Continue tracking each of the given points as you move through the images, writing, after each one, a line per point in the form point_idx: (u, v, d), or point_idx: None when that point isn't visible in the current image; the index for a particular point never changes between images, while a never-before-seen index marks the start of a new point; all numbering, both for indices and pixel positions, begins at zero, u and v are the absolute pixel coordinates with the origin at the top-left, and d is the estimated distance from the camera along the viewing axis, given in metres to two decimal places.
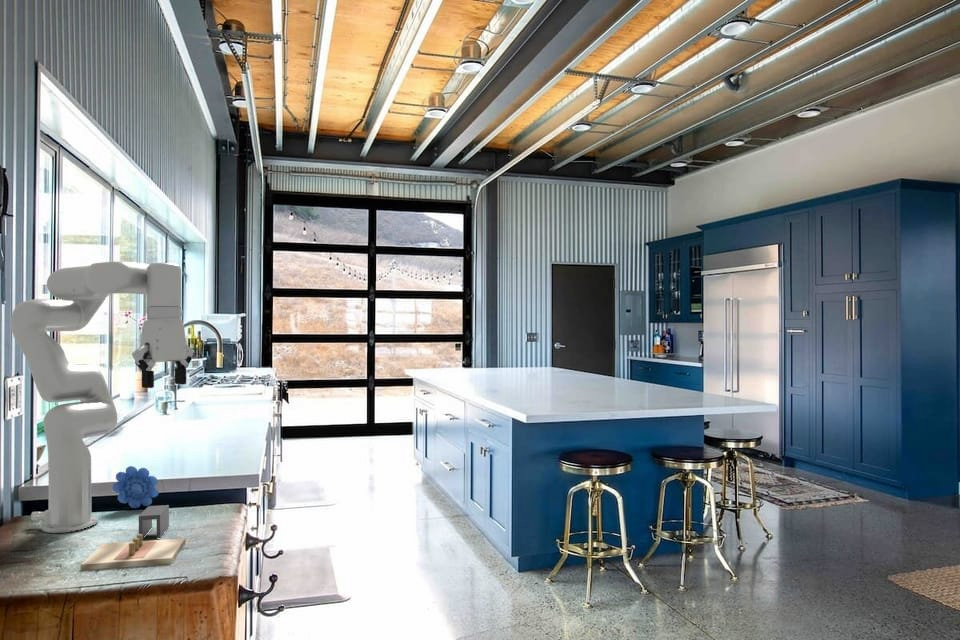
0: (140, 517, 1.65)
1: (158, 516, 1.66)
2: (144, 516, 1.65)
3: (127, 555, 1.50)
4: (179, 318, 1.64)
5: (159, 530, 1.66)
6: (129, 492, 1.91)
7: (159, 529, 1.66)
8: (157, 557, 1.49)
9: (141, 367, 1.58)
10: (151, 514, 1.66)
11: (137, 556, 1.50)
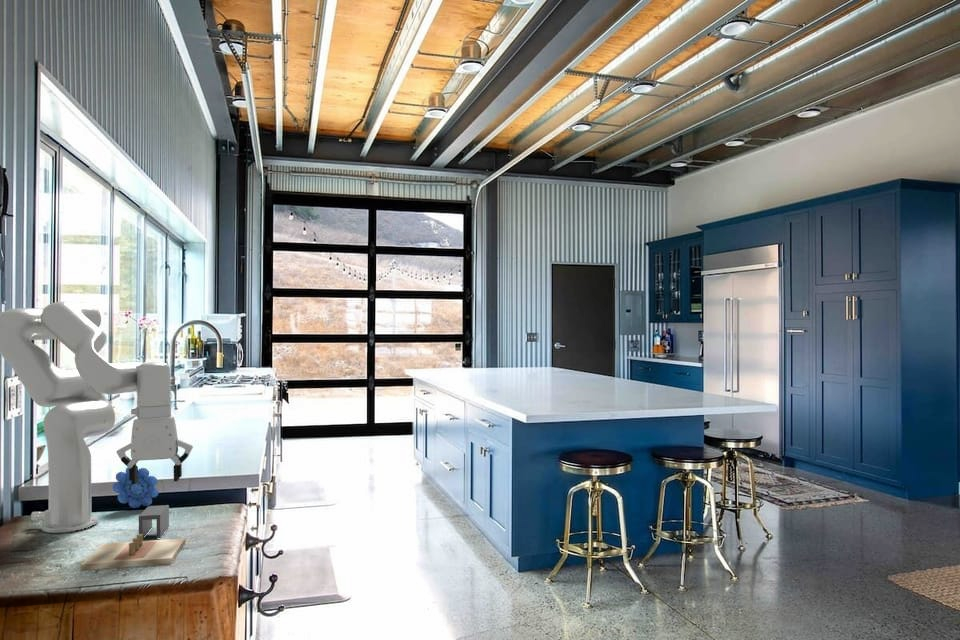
0: (140, 517, 1.65)
1: (158, 516, 1.66)
2: (144, 516, 1.65)
3: (127, 555, 1.50)
4: None
5: (159, 530, 1.66)
6: (129, 492, 1.91)
7: (159, 529, 1.66)
8: (157, 557, 1.49)
9: None
10: (151, 514, 1.66)
11: (137, 556, 1.50)
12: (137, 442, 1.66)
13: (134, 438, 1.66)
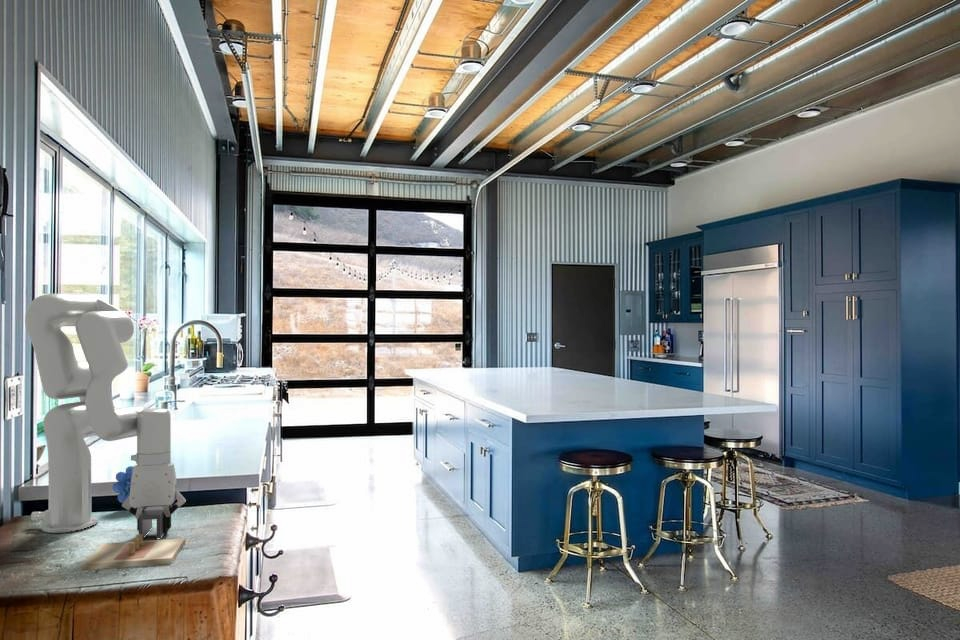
0: (140, 517, 1.65)
1: (158, 516, 1.66)
2: (144, 516, 1.65)
3: (127, 555, 1.50)
4: None
5: (159, 530, 1.66)
6: (129, 492, 1.91)
7: (159, 529, 1.66)
8: (157, 557, 1.49)
9: (173, 511, 1.71)
10: (151, 514, 1.66)
11: (137, 556, 1.50)
12: (136, 489, 1.66)
13: (133, 485, 1.66)
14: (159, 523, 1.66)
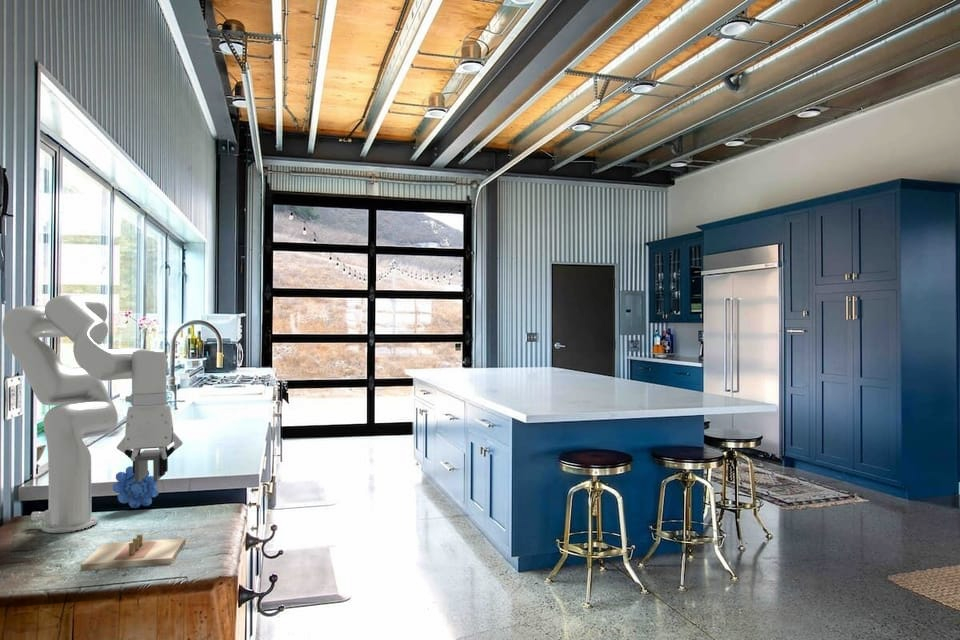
0: (136, 458, 1.61)
1: (155, 457, 1.61)
2: (140, 457, 1.61)
3: (127, 555, 1.50)
4: None
5: (156, 471, 1.62)
6: (129, 492, 1.91)
7: (156, 470, 1.62)
8: (157, 557, 1.49)
9: (170, 454, 1.66)
10: (147, 455, 1.62)
11: (137, 556, 1.50)
12: (131, 430, 1.62)
13: (128, 426, 1.62)
14: (156, 464, 1.62)
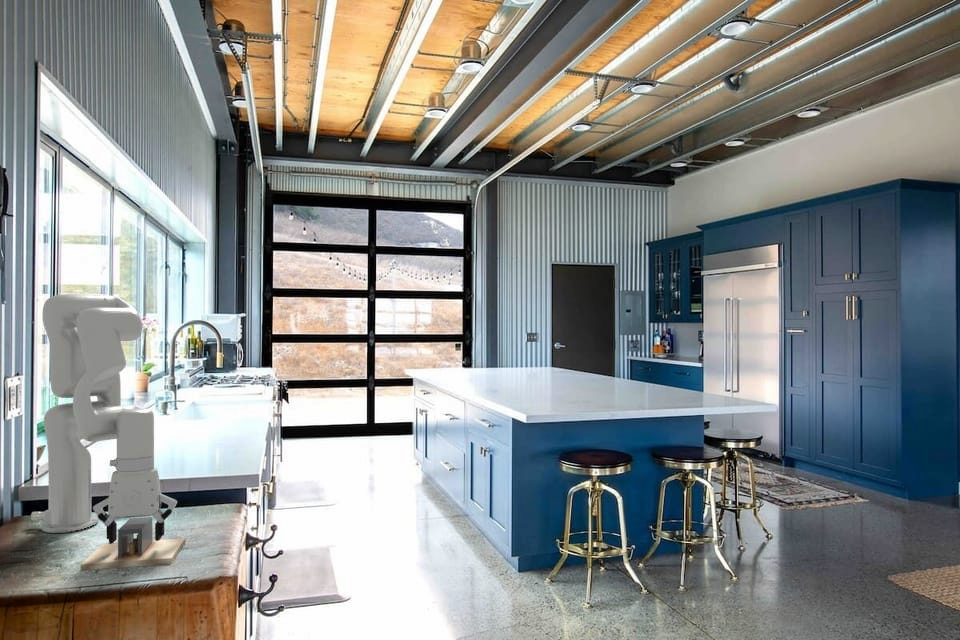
0: (120, 531, 1.49)
1: (140, 530, 1.50)
2: (124, 530, 1.49)
3: (127, 555, 1.50)
4: None
5: (141, 545, 1.50)
6: None
7: (141, 544, 1.50)
8: (157, 557, 1.49)
9: None
10: (132, 528, 1.50)
11: (137, 556, 1.50)
12: (115, 498, 1.51)
13: (112, 493, 1.51)
14: (141, 538, 1.50)
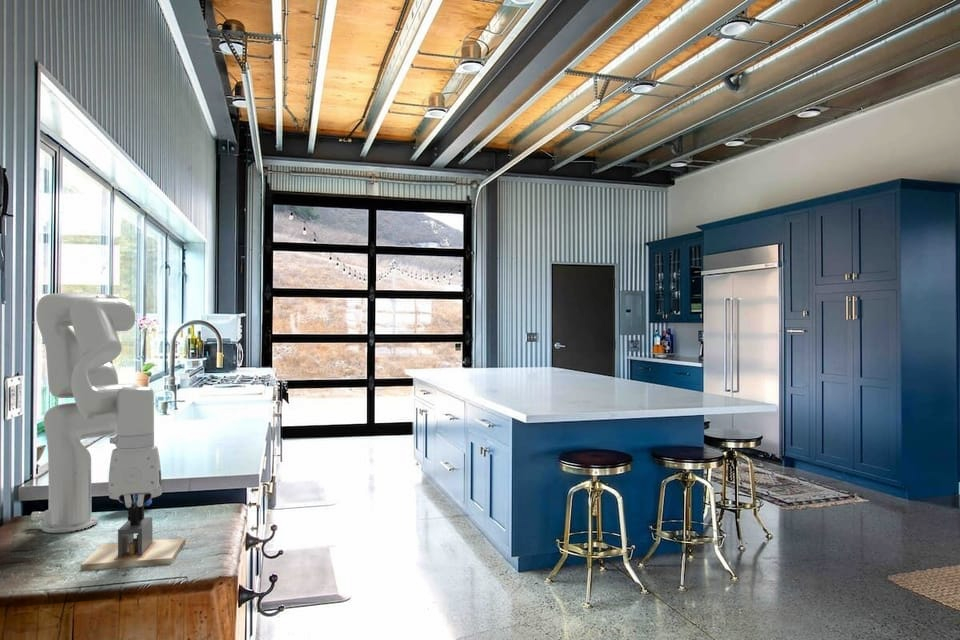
0: (120, 531, 1.49)
1: (140, 530, 1.50)
2: (124, 530, 1.49)
3: (127, 555, 1.50)
4: None
5: (141, 545, 1.50)
6: None
7: (141, 544, 1.50)
8: (157, 557, 1.49)
9: None
10: (132, 528, 1.50)
11: (137, 556, 1.50)
12: (115, 475, 1.51)
13: (112, 470, 1.51)
14: (141, 538, 1.50)
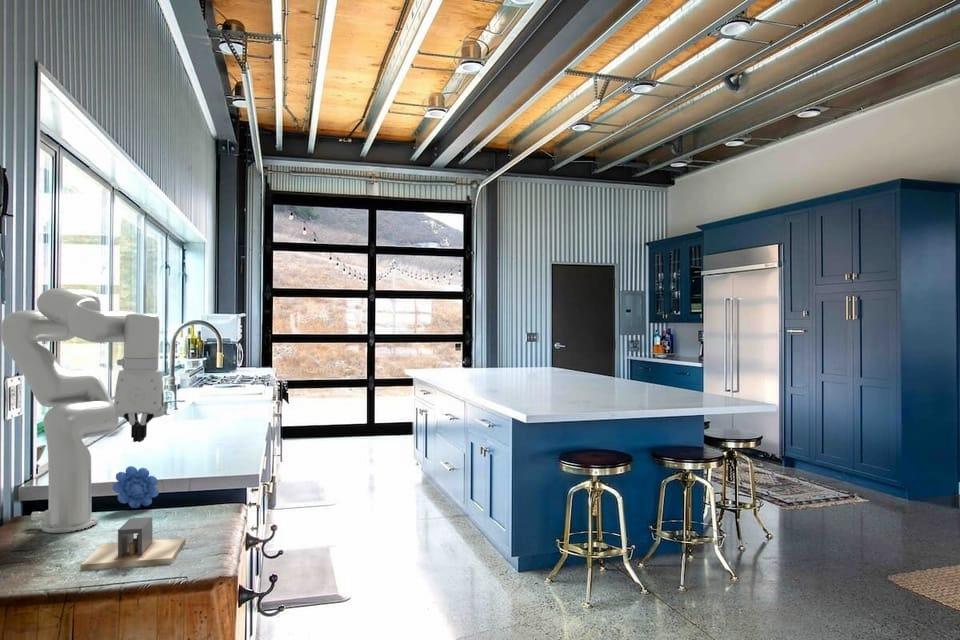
0: (120, 531, 1.49)
1: (140, 530, 1.50)
2: (124, 530, 1.49)
3: (127, 555, 1.50)
4: None
5: (141, 545, 1.50)
6: (129, 492, 1.91)
7: (141, 544, 1.50)
8: (157, 557, 1.49)
9: (149, 420, 1.65)
10: (132, 528, 1.50)
11: (137, 556, 1.50)
12: (121, 394, 1.61)
13: (118, 389, 1.61)
14: (141, 538, 1.50)
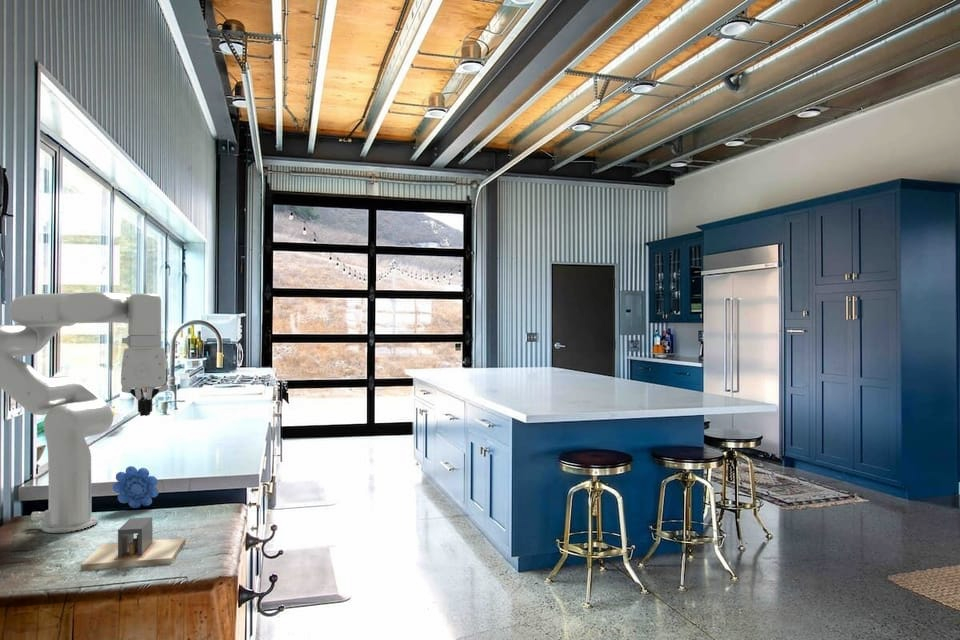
0: (120, 531, 1.49)
1: (140, 530, 1.50)
2: (124, 530, 1.49)
3: (127, 555, 1.50)
4: None
5: (141, 545, 1.50)
6: (129, 492, 1.91)
7: (141, 544, 1.50)
8: (157, 557, 1.49)
9: (155, 395, 1.73)
10: (132, 528, 1.50)
11: (137, 556, 1.50)
12: (127, 370, 1.70)
13: (124, 366, 1.70)
14: (141, 538, 1.50)
